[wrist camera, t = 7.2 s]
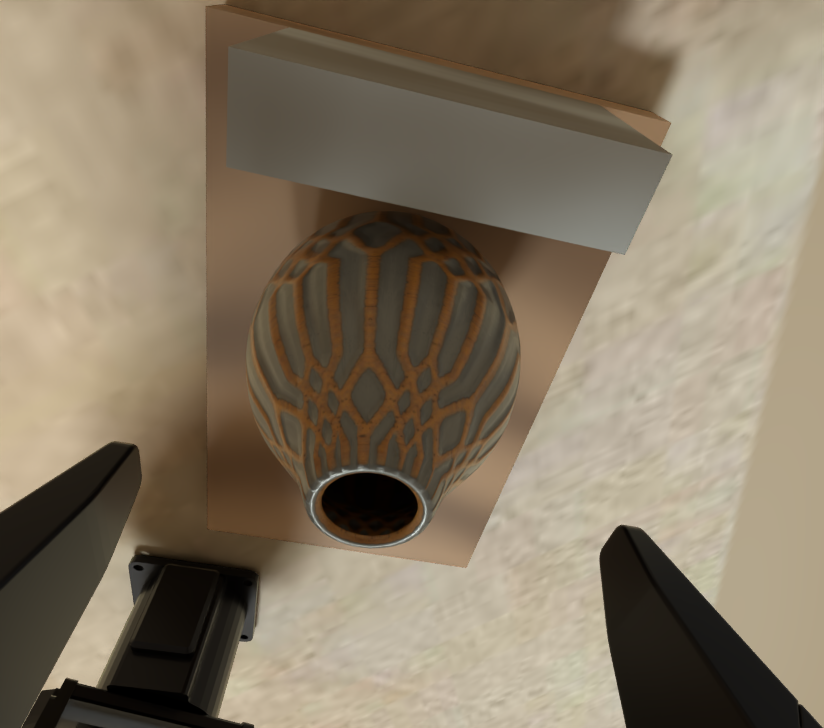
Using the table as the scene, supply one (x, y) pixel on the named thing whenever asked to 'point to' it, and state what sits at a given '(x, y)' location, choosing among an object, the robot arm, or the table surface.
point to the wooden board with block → (404, 192)
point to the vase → (382, 371)
